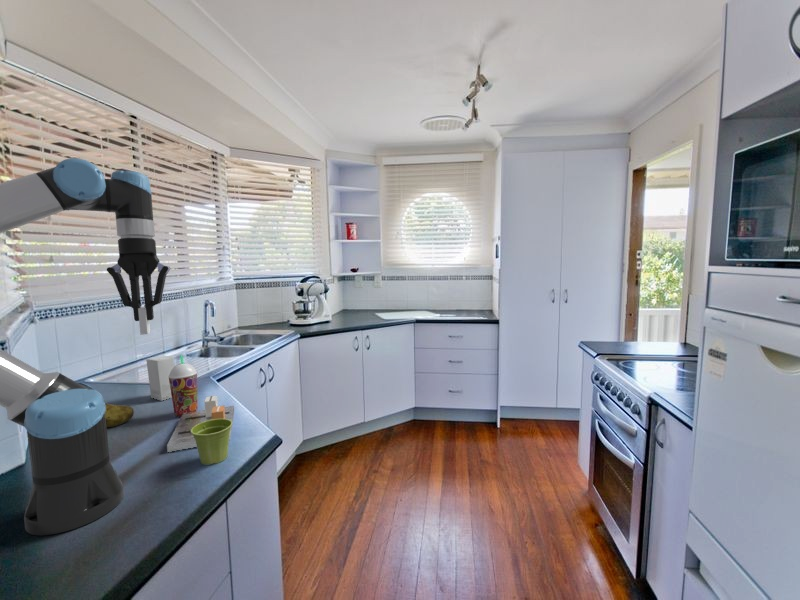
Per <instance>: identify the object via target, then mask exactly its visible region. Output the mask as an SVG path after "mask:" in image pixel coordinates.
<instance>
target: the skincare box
mask: <svg viewBox="0 0 800 600" xmlns="http://www.w3.org/2000/svg"><path fill="white" fill-rule="evenodd" d="M175 366H176V365H175V357H174V356H170V355H158V356H155V357H154V356H153V357H150V358H146V367H147V374H148V382H149V383H148V384H149V389H150V398H151V399H153V398H154V400H156V399H157V401H159V402H163V400H164V401H167V400H170V399H172V395H171V389H170V383H169V377H168V376H169V375H170V372H171V370H172V369H173V368H174V367H175ZM169 398H170V399H169ZM166 399H167V400H166Z"/></svg>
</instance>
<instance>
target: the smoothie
mask: <svg viewBox="0 0 800 600" xmlns="http://www.w3.org/2000/svg"><path fill="white" fill-rule="evenodd" d="M183 357H184V356H183V355H182V354H181V355H180V363H177V364H176V365H175V367H174V368H173V369H172V370H171V372H170V375H169V376H168V377H169V383H170V389H171V395H172V398H171V400H172V401H171V402H172V406H173V407H172V408H173V413H175V415H176V417H179V418H181V417H182V415H183V413H188V412H195V411H197V409H198V370H196V368H195V367H194V366H193V365H192V364H190V363H188V362H187V363H186V362H184V358H183Z"/></svg>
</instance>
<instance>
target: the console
mask: <svg viewBox="0 0 800 600" xmlns="http://www.w3.org/2000/svg"><path fill="white" fill-rule="evenodd" d="M234 415H235V406H234V405H231V406H225V419H229V420H231V421H232V424H233V423H234ZM208 420H212V417H207V418H206V413H205V409H204V410H196V411H195V412H188V413H183V415H182V417H180V419H179V421H178V423H177V425H176V426H175V429H174V431H173V432H172V435H171V436H170V439H169V441H168V443H167V444H166V450H167V453H168V452H169V453H173V452H172V451H175V452H177V451H176V450H180V451H183V450H182V449H186V450H189V449H188V448H191V449H194V448H193V447H197V444H196V440H195V438H194V436H193V434H191V429H192V428H193V427H194V426H195V425H197V424H199V423H202V422H204V421H208ZM232 429H233V425H232V426H231V429H230V432H229V441H231V437H230V436H232Z"/></svg>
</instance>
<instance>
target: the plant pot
mask: <svg viewBox="0 0 800 600" xmlns="http://www.w3.org/2000/svg"><path fill="white" fill-rule="evenodd" d="M231 426H232V427H233V423H232V421H231V420H229V419H213V420H208V421H204V422H202V423H199V424H197V425H195V426H194V427H193V428H192V429H191V434H193V436H194V438H195V440H196V444H197V448H196V449H197V453H198V456H199V457H198V458H199V461H200V463H201V464H202V465H206V466H210V465H212V464H219V463H222V462H223V461H225V460H226V459H227V457H228V453H229V443H230V442H229V432H230V429H231Z"/></svg>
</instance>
